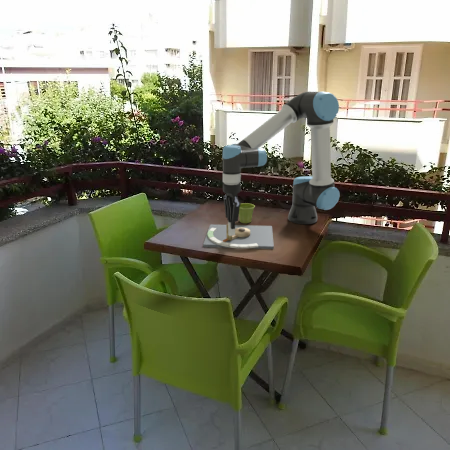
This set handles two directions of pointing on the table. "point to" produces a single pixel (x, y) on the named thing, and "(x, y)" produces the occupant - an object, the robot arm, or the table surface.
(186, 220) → the table surface
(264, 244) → the scale board
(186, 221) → the table surface
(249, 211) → the plant pot
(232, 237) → the dial
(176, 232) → the table surface
